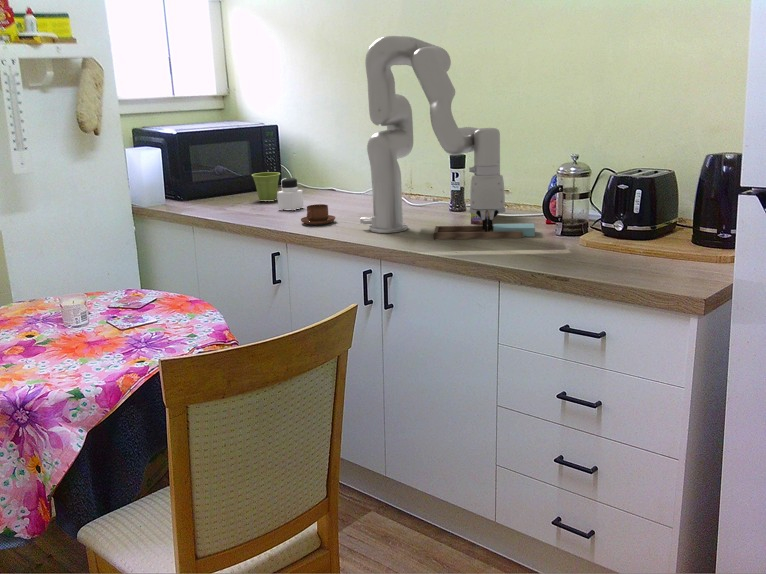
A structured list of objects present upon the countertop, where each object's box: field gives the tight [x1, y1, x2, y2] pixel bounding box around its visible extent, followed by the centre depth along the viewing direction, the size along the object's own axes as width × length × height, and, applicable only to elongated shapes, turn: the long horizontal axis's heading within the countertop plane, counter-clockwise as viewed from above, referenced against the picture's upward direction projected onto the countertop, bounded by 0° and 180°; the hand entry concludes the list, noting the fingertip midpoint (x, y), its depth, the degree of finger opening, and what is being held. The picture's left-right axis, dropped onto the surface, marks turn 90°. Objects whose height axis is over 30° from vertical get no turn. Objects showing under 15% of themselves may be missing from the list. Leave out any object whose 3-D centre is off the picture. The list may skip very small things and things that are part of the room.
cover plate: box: [493, 222, 536, 237], centre depth 223 cm, size 12×7×2 cm, turn 81°
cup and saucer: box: [300, 203, 336, 226], centre depth 258 cm, size 12×12×6 cm
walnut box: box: [433, 224, 524, 240], centre depth 225 cm, size 26×10×3 cm, turn 83°
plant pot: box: [251, 171, 281, 201], centre depth 309 cm, size 12×12×11 cm
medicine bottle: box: [277, 177, 305, 210], centre depth 287 cm, size 7×7×12 cm
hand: (487, 231), depth 224 cm, fingers closed
